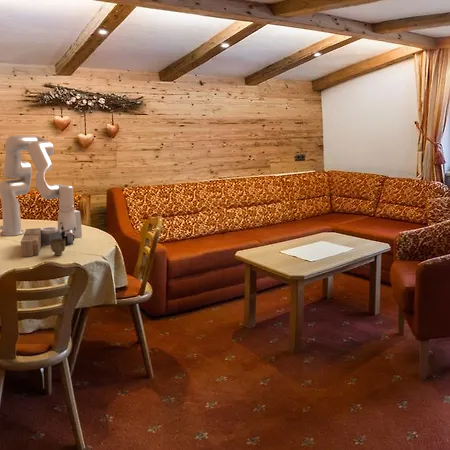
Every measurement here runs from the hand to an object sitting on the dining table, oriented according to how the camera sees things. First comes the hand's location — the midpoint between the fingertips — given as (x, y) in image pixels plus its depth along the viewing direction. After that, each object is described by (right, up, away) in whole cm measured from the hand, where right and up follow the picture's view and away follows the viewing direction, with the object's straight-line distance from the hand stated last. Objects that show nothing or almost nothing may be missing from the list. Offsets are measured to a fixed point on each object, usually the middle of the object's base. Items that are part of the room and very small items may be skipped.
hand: (68, 241), depth 272 cm
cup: (+2, -6, -22) cm, 23 cm away
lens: (0, -1, 0) cm, 1 cm away
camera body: (-11, 0, +4) cm, 12 cm away
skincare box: (-2, +2, +20) cm, 20 cm away
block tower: (-15, -4, -13) cm, 20 cm away
